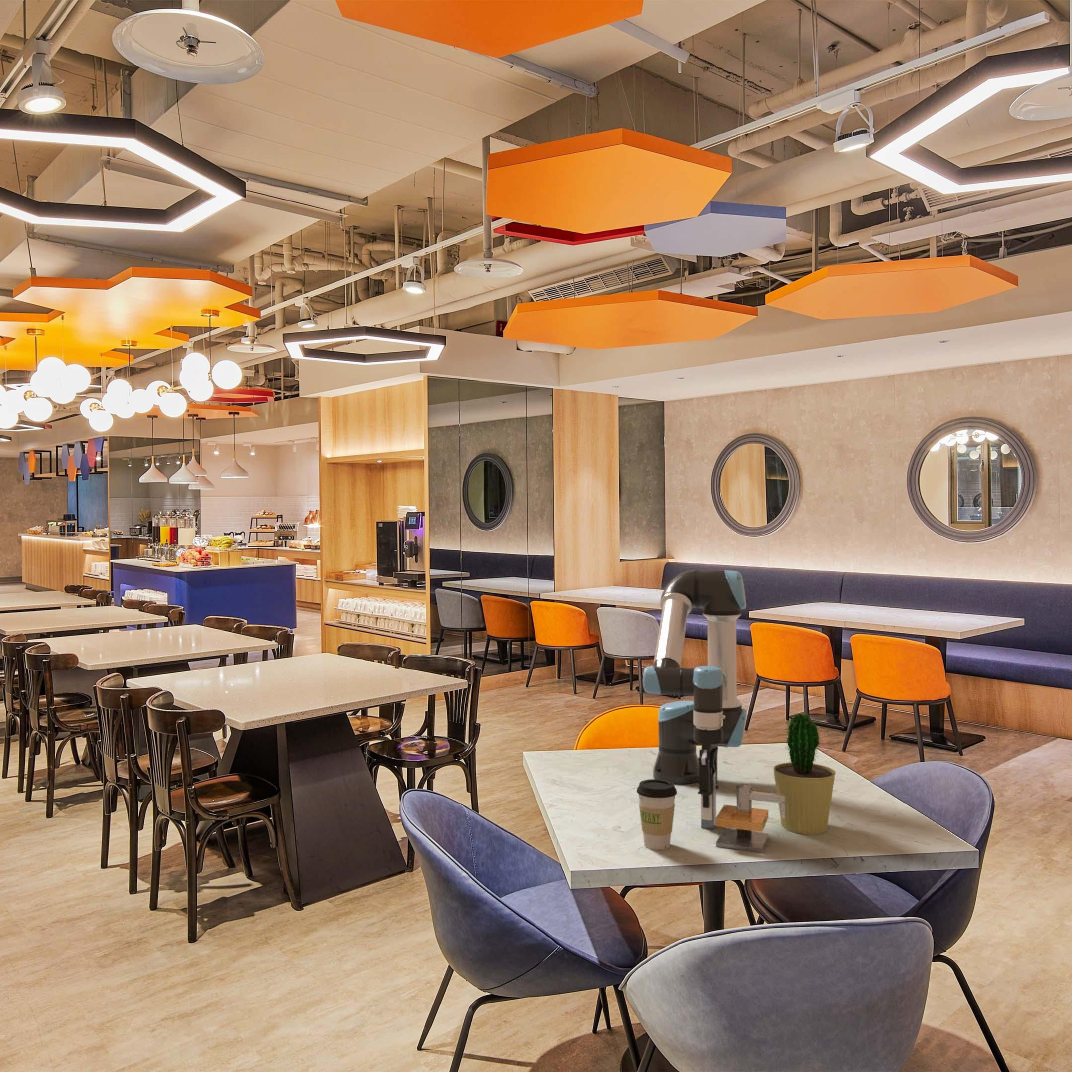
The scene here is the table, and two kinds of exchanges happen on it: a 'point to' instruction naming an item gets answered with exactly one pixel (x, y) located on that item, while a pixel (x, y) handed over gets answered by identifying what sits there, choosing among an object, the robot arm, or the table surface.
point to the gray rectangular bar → (712, 823)
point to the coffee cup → (656, 812)
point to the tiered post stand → (746, 820)
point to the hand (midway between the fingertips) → (708, 816)
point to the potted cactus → (804, 780)
